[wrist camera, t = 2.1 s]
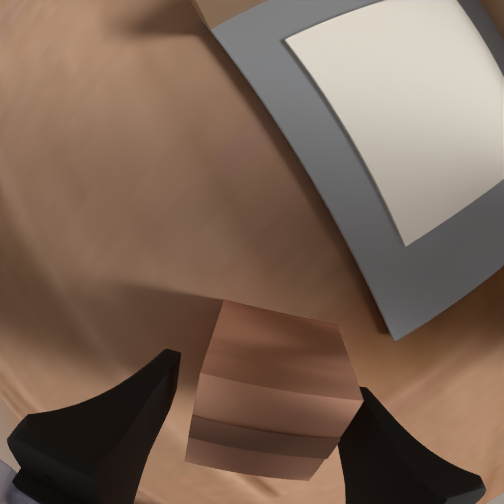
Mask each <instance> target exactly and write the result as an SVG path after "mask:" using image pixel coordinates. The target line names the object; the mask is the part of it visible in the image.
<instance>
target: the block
mask: <svg viewBox="0 0 504 504" xmlns="http://www.w3.org/2000/svg"><path fill="white" fill-rule="evenodd" d="M363 401H364V400H363V397H362V394H361V391H360V388H359V385H358V382H357V379H356V377H355V374H354V371H353V368H352V365H351V362H350V360H349V357H348V354H347V351H346V348H345V346H344V343H343V340H342V338H341V335H340V332H339V329H338V327H337V325H336V324H331V323H326V322H321V321H316V320H311V319H307V318H302V317H297V316H292V315H288V314H283V313H279V312H274V311H270V310H265V309H261V308H257V307H252V306H248V305H244V304H240V303H235V302H231V301H227V300H224V302H223V305H222V308H221V311H220V314H219V317H218V320H217V323H216V326H215V329H214V332H213V335H212V338H211V341H210V344H209V347H208V350H207V353H206V356H205V359H204V362H203V365H202V368H201V371H200V376H199V381H198V387H197V392H196V398H195V403H194V409H193V415H192V419H191V425H190V431H189V438H188V444H187V450H186V456H185V461H186V462H190V463H194V464H198V465H202V466H207V467H211V468H216V469H221V470H226V471H231V472H237V473H243V474H249V475H256V476H263V477H271V478H281V479H291V480H305V481H309V480H310V478H311V477H312V476H313V475H314V473H315V472H316V471H317V469H318V468H319V467H320V465H321V464H322V463H323V461H324V460H325V459H327V458H328V457H329V456H330V454H331V453H332V451H333V450H334V449H335V447H336V446H337V444H338V443H339V442H340V437H341V436H342V434H343V433H344V431H345V430H346V428H347V427H348V425H349V424H350V422H351V421H352V419H353V418H354V416H355V414H356V413H357V411H358V410H359V408H360V406H361V405H362V403H363Z"/></svg>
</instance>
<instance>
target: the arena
mask: <svg viewBox="0 0 504 504" xmlns="http://www.w3.org/2000/svg"><path fill="white" fill-rule="evenodd" d="M190 1H191V3H192V5H193V7H194V8H195V10H196V12H197V14H198V16H199V18H200V19H201V21H202V22H203V23H204V25H205V26H206V27H207V28H208V30H209V31H210V32H211V33H212V35H213V36H214V37H215V39H216V40H217V41H218V42H219V44H220V45H221V46H222V48H223V49H224V50H225V52H226V53H227V54H228V56H229V57H230V58H231V60H232V61H233V62H234V64H235V65H236V66H237V68H238V69H239V71H240V72H241V73H242V75H243V76H244V77H245V79H246V80H247V82H248V83H249V84H250V86H251V87H252V89H253V90H254V92H255V93H256V94H257V96H258V97H259V99H260V100H261V102H262V103H263V105H264V106H265V108H266V109H267V111H268V112H269V114H270V115H271V117H272V118H273V120H274V121H275V123H276V124H277V126H278V127H279V129H280V130H281V132H282V134H283V135H284V137H285V138H286V140H287V141H288V143H289V145H290V146H291V148H292V149H293V151H294V153H295V154H296V156H297V157H298V159H299V161H300V162H301V164H302V166H303V167H304V169H305V171H306V172H307V174H308V176H309V177H310V179H311V181H312V182H313V184H314V186H315V188H316V189H317V191H318V193H319V194H320V196H321V198H322V200H323V201H324V203H325V205H326V207H327V209H328V210H329V212H330V214H331V216H332V218H333V219H334V221H335V223H336V225H337V227H338V229H339V230H340V232H341V234H342V236H343V238H344V240H345V242H346V244H347V246H348V247H349V249H350V251H351V253H352V255H353V257H354V259H355V261H356V263H357V265H358V267H359V269H360V271H361V273H362V275H363V277H364V279H365V281H366V283H367V285H368V287H369V289H370V292H371V294H372V296H373V298H374V300H375V302H376V304H377V306H378V309H379V311H380V313H381V315H382V317H383V320H384V322H385V324H386V326H387V328H388V331H389V333H390V335H391V337H392V339H393V340H394V342H395V341H397V340H399V339H400V338H402V337H404V336H405V335H407V334H409V333H410V332H412V331H413V330H415V329H417V328H418V327H420V326H421V325H423V324H425V323H426V322H428V321H429V320H431V319H432V318H434V317H435V316H437V315H438V314H440V313H441V312H443V311H444V310H446V309H447V308H449V307H450V306H451V305H453V304H454V303H456V302H457V301H459V300H460V299H461V298H463V297H464V296H465V295H467V294H468V293H469V292H471V291H472V290H474V289H475V288H476V287H477V286H479V285H480V284H481V283H483V282H484V281H485V280H486V279H488V278H489V277H490V276H492V275H493V274H494V273H495V272H496V271H498V270H499V269H500V268H501V267H503V266H504V0H190Z"/></svg>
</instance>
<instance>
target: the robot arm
mask: <svg viewBox="0 0 504 504" xmlns="http://www.w3.org/2000/svg"><path fill="white" fill-rule="evenodd" d="M180 358H181V353H180V352H177V351H173V350H170V349H165V350H163V351H162V352H161V353H160V354H159V355H158V356H157V357H155V358H154V359H153V360H152V361H151V362H150V363H148V364H147V365H146V366H145V367H143V368H142V369H141V370H139V371H138V372H137V373H135V374H134V375H133V376H131V377H130V378H128V379H127V380H125V381H123V382H122V383H120V384H119V385H117V386H115V387H114V388H112V389H110V390H108V391H106V392H104V393H102V394H100V395H98V396H96V397H94V398H91V399H89V400H87V401H84V402H82V403H79V404H76V405H73V406H69V407H66V408H62V409H58V410H54V411H49V412H42V413H36V414H28V415H27V416H26V417H25V418H24V419H23V420H22V421H21V422H20V423H19V424H18V426H17V427H16V428H15V429H14V431H13V432H12V433H11V435H10V436H9V437H8V438H7V443H8V446H9V448H10V450H11V452H12V454H13V455H14V457H15V459H16V460H17V462H18V464H19V465H20V467H21V469H20V470H19V472H18V473H16V471H14V470H13V469H12V468H11V467H10V466H9V465H7V464H6V463H4V462H3V461H2V460H0V504H133V503H134V499H135V496H136V492H137V489H138V486H139V482H140V479H141V476H142V473H143V470H144V467H145V464H146V461H147V458H148V455H149V453H150V450H151V448H152V446H153V444H154V442H155V439H156V437H157V435H158V433H159V431H160V429H161V427H162V425H163V423H164V421H165V418H166V416H167V414H168V412H169V410H170V407H171V404H172V401H173V398H174V395H175V392H176V389H177V381H178V373H179V366H180ZM359 388H360V391H361V394H362V397H363V400H364V401H363V403H362V405H361V406H360V408H359V410H358V411H357V413H356V414H355V416H354V418H353V419H352V421H351V422H350V424H349V425H348V427H347V428H346V430H345V431H344V433H343V434H342V436H341V437H340V442H339V443H338V449H339V454H340V459H341V464H342V470H343V475H344V481H345V494H346V504H475V503H477V502H478V501H479V500H480V499H481V498H482V497H483V496H484V494H485V492H486V488H485V485H484V483H483V481H482V479H481V477H480V476H479V475H476V474H474V473H471V472H468V471H466V470H463V469H461V468H459V467H457V466H455V465H453V464H451V463H449V462H447V461H445V460H444V459H442V458H440V457H439V456H437V455H436V454H434V453H433V452H431V451H430V450H429V449H427V448H426V447H425V446H423V445H422V444H421V443H420V442H418V441H417V440H416V439H415V438H414V437H413V436H411V435H410V434H409V433H408V432H407V431H406V430H405V429H404V428H403V427H402V426H401V425H400V424H399V423H398V422H397V421H396V420H395V418H394V417H393V416H392V415H391V414H390V413H389V412H388V411H387V410H386V408H385V407H384V406H383V405H382V404H381V403H380V402H379V400H378V399H377V398H376V397H375V396H374V395H373V394H372V393H371V392H370V391H369V390H368V389H367V388H366V387H359Z"/></svg>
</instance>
